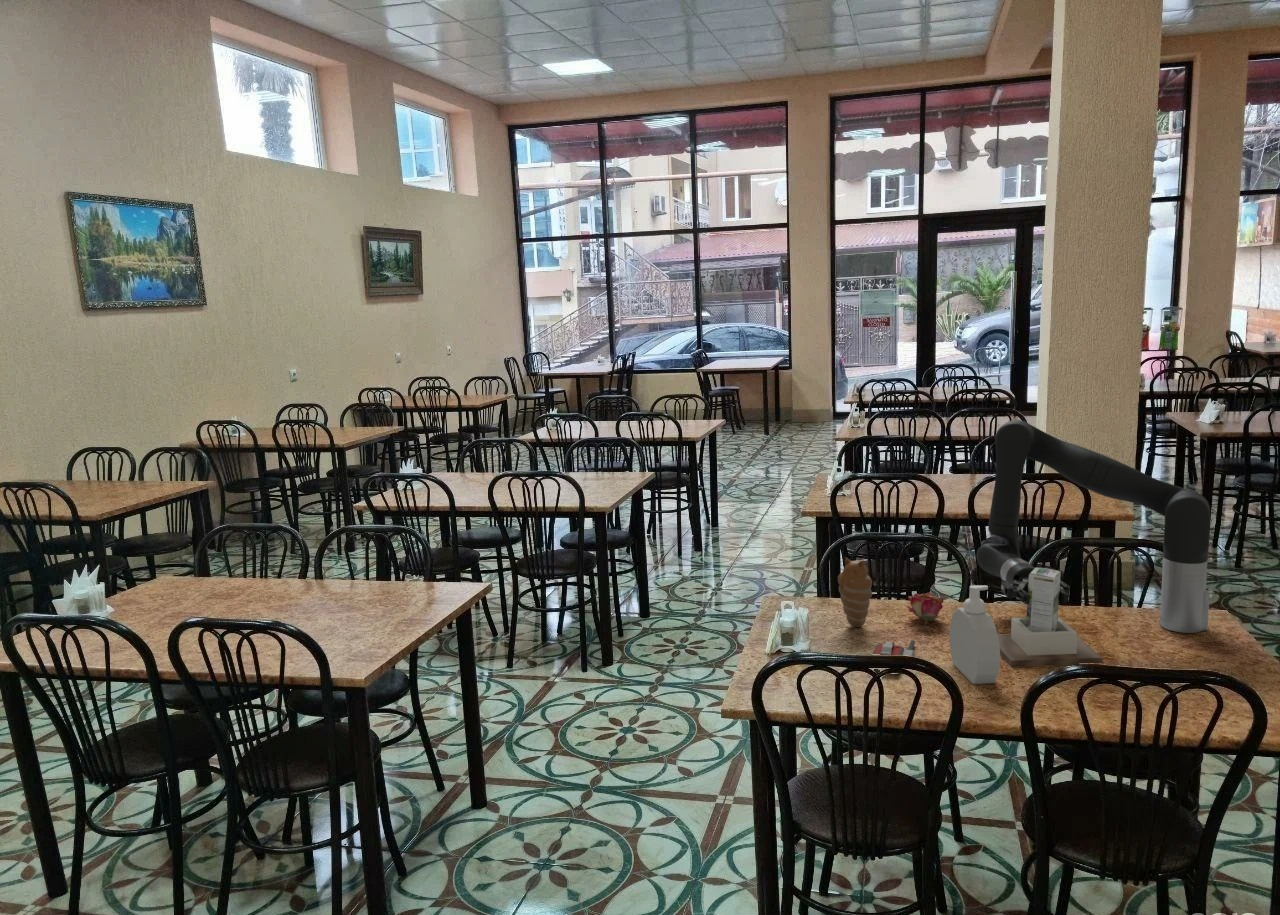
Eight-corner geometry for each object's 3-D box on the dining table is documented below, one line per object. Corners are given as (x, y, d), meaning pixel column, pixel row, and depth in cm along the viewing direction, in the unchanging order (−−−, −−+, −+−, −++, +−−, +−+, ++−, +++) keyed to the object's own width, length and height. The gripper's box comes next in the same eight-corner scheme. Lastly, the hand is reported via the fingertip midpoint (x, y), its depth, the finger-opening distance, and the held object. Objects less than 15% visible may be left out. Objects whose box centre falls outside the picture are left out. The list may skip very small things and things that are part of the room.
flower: (949, 622, 233) (949, 592, 236) (913, 617, 233) (913, 586, 236) (935, 632, 242) (935, 602, 245) (900, 626, 242) (901, 597, 245)
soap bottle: (1001, 687, 199) (1003, 597, 196) (977, 689, 199) (978, 599, 195) (971, 658, 215) (972, 575, 211) (948, 660, 214) (949, 576, 211)
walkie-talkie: (907, 680, 206) (917, 647, 224) (907, 661, 205) (917, 629, 223) (867, 675, 209) (880, 643, 227) (866, 657, 208) (879, 626, 227)
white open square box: (1057, 636, 221) (1058, 616, 221) (1076, 653, 211) (1077, 632, 210) (1011, 638, 222) (1011, 617, 221) (1027, 655, 211) (1028, 634, 210)
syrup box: (1031, 625, 220) (1033, 566, 217) (1058, 630, 217) (1061, 570, 214) (1025, 633, 215) (1027, 573, 213) (1052, 638, 212) (1055, 577, 209)
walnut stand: (1072, 638, 224) (1072, 632, 224) (1102, 664, 208) (1102, 657, 208) (987, 640, 225) (987, 634, 225) (1010, 666, 209) (1011, 660, 209)
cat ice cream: (833, 628, 238) (832, 559, 235) (848, 619, 244) (847, 552, 241) (864, 635, 232) (864, 565, 229) (879, 625, 238) (879, 557, 235)
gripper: (991, 563, 228) (1015, 584, 212) (1051, 561, 227) (1079, 582, 211) (990, 592, 230) (1014, 615, 214) (1050, 590, 229) (1078, 614, 213)
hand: (1046, 599), depth 213 cm, fingers closed on syrup box, 8 cm apart
